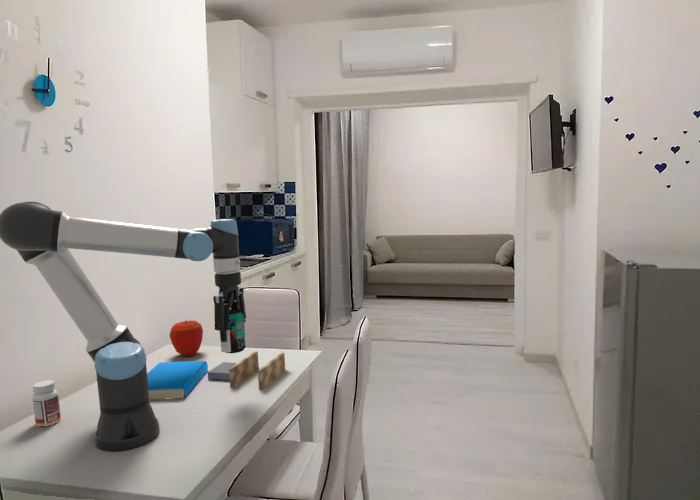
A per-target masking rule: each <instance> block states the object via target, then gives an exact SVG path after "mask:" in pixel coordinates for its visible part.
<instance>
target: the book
mask: <svg viewBox="0 0 700 500" xmlns="http://www.w3.org/2000/svg"><path fill="white" fill-rule="evenodd" d="M208 368H209V365H208V362H207V360H190V361H167V362H166V361H165V362H158V363H157V364H156V365H155V366H154V367H153V368H151V369H150V370H149V371H147V378H148V389H149V399H159V400H167V399H166V398H183V399H185V398H186V397H187V396H188V394H189V393H190V392H191V390H192V389H193V388H194V387H195V386H194V385H197V384H198V382H199V381H200V380H201V378H202V377H203V376H204V375H203V374H206V372H208ZM202 375H203V376H202ZM198 380H199V381H198ZM184 396H186V397H184Z"/></svg>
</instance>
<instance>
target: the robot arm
mask: <svg viewBox="0 0 700 500" xmlns="http://www.w3.org/2000/svg"><path fill="white" fill-rule="evenodd" d="M238 232H239V231H238V223H237V221H236V220H235V219H233V218H225V219H223V218H222V219H212V220H211V221H210V226H207V227H197V228H193V227H192V228H179V229H178V228H171V227H164V226H154V225H145V224H137V223H135V224H134V223H129V222H128V223H127V222H119V221H110V220H103V219H94V218H84V217H76V216H69V215H68V214H67V213H65V211H60V210H53V209H51V208H50V207H49V206H48V205H46V204H43V203H41V202H37V201H23V202H16V203H14V204H11V205H9V206H6V208H4V209H3V211H2V212H1V213H0V240H1V241H2V242H3V244H5V245H6V246H7V247H9V248H11V249H14V250H16V251H17V253H18V254H19V256H20V257H21V258H22V259H23V261H24V263H25V264H28V265H33V266H35V267H36V268H37V270H38V272H39V273H40V275H41V276H42V277H43V279H44V280H45V281H46V283H47V284H48V286H49V288H50V289H51V290H52V292H53V294H55V296H56V298H57V299H58V300H59V302H60V303H61V305H62V307H63V308H64V310H65V311H66V313H68V315H69V316H70V318H71V319H72V321H73V322H74V324H75V325H76V327H77V329H78V330H79V331H80V332H81V334H82V335H83V337H84V338H85V340H86V342H87V344H86V347H85V351H86V352H87V354H88V355H89V357H90V358H91V359H92V360H91V361H92V362H93V363H94V370H95V372H96V373H95V374H96V375H95V376H96V382H97V383H96V384H97V392H98V402H99V412H100V413H99V418H98V422H97V428H96V432H95V435H94V439H95V440H94V441H95V445H96V447H97V448H98V449H99V450H102V451H107V452H119V451H120V452H121V451H126V450H131V449H134V448H135V449H136V448H138V447H141V446H143V445H146V444H148V443H150V442H151V441H153V440H154V439H156V438H157V437H158V436H159V434H160V431H161V430H160V422H159V419H158V418H157V416H156V415H155V412H154V410H153V407H152V405H151V402H150V401H151V400H149V389H148V378H147V373H148V369H147V353H146V352H145V348H144V347H143V345H142V344H141V342H140V341H139V340H138V339H137V338H135V337H134V335H133V334H132V332H131V330H130V329H129V327H128V326H127V325H126V324H120V323H118V322H117V320H116V318H114V316H113V314H112V312H111V311H110V310H109V308H108V306H106V303H105V302H104V301H103V299H102V298H101V296H100V295H99V293H98V292H97V290H96V289H95V287H94V286H93V285H92V282H91V281H90V279H89V278H88V277H87V274H86V273H85V272H84V270H83V268H81V266H80V264H79V263H78V261H77V260H76V259H75V257H74V255H73V253H72V252H71V251H70V249H73V250H84V251H95V252H105V253H106V252H107V253H108V252H109V253H117V254H129V255H141V256H152V257H153V256H154V257H165V258H174V259H180V260H181V259H183V260H190V261H192V262H202V261H205V260H207V259H209V257H210V256H211V254H212V256H213V257H212V258H213V272H215V273H214V285H215V286H216V287H218V288H219V291H218V294H217V295H213V298H212V300H213V305H214V309H213V310H214V330H215V331H219V337H220V338H219V339H220V350H221V353H225V352H231V344H230V330H228V320H229V312H230V309H240V310H241V312H242V314H243V315H244V324H245V323H246V320H247V314H246V313H247V311H246V305H245V297H244V291H245V289H244V287H239V285H241V283H242V275H241V274H242V273H241V272H240V270H241V260H240V246H239V245H240V244H239V233H238Z"/></svg>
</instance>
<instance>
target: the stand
mask: <svg viewBox="0 0 700 500" xmlns="http://www.w3.org/2000/svg"><path fill="white" fill-rule="evenodd" d="M237 363H238V362H229V361H228V362H227V361H225V362H223V361H222V362H221V363H219V364H218V365H217V366H215V367H213V368H212V369H210V370H208V371H207V380H210V379H219V380H218V381H224V380H230V377H229V368H231V367H232V366H234V365H235V364H237Z"/></svg>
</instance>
